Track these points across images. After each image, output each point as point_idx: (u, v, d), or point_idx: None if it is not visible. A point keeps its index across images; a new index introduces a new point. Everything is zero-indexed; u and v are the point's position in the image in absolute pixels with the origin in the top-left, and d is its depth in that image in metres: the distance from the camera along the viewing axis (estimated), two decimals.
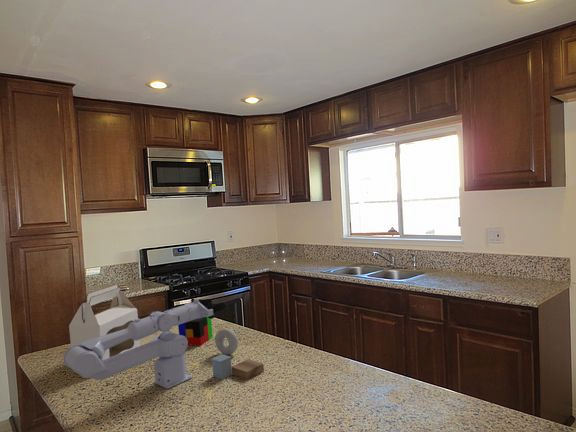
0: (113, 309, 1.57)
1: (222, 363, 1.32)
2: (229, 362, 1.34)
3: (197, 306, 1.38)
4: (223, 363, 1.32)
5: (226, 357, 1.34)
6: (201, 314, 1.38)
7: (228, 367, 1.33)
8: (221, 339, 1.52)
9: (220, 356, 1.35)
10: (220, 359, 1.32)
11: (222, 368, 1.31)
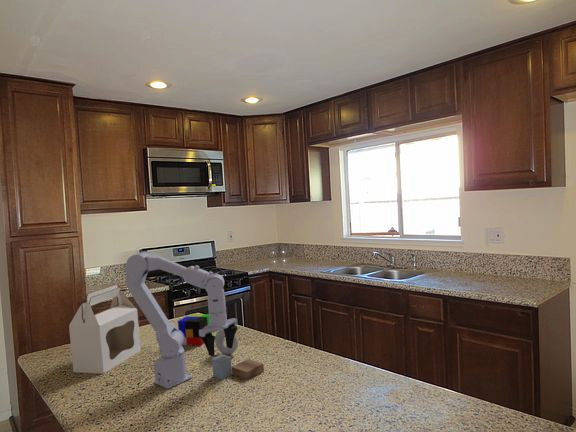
0: (113, 309, 1.57)
1: (222, 363, 1.32)
2: (229, 362, 1.34)
3: (216, 324, 1.31)
4: (223, 363, 1.32)
5: (226, 357, 1.34)
6: (209, 326, 1.32)
7: (228, 367, 1.33)
8: (221, 339, 1.52)
9: (220, 356, 1.35)
10: (220, 359, 1.32)
11: (222, 368, 1.31)
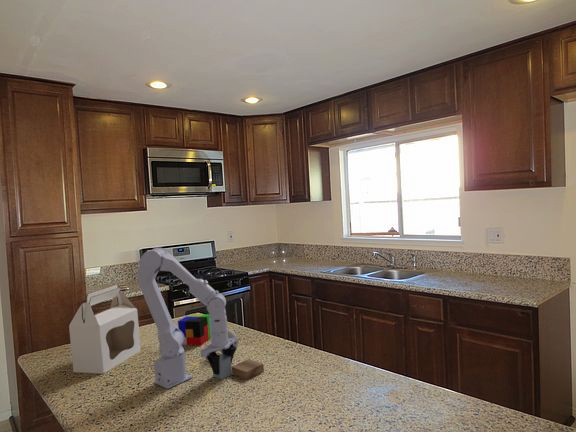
0: (113, 309, 1.57)
1: (222, 363, 1.32)
2: (229, 362, 1.34)
3: (218, 344, 1.31)
4: (223, 363, 1.32)
5: (226, 357, 1.34)
6: (211, 346, 1.32)
7: (228, 367, 1.33)
8: None
9: (220, 356, 1.35)
10: (220, 359, 1.32)
11: (222, 368, 1.31)
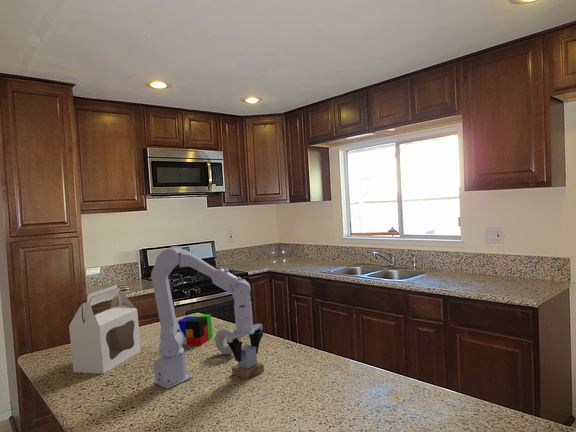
0: (113, 309, 1.57)
1: (248, 353, 1.32)
2: (254, 352, 1.34)
3: (243, 330, 1.31)
4: (249, 353, 1.32)
5: (251, 347, 1.34)
6: (236, 332, 1.33)
7: (253, 357, 1.33)
8: (221, 339, 1.52)
9: (245, 346, 1.35)
10: (245, 349, 1.33)
11: (247, 357, 1.31)
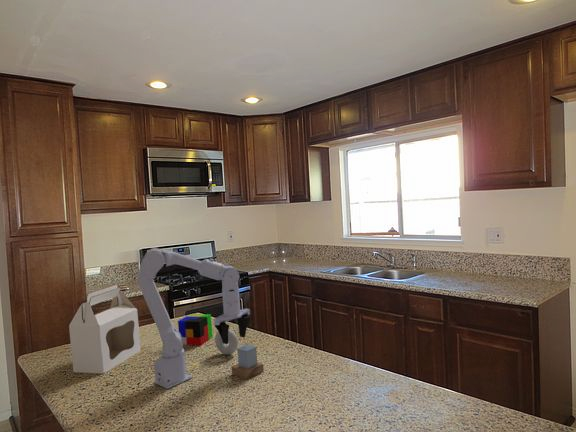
0: (113, 309, 1.57)
1: (249, 353, 1.32)
2: (255, 352, 1.34)
3: (230, 313, 1.36)
4: (249, 353, 1.32)
5: (252, 347, 1.34)
6: (223, 315, 1.37)
7: (254, 357, 1.34)
8: (221, 339, 1.52)
9: (245, 346, 1.35)
10: (246, 349, 1.33)
11: (248, 357, 1.32)
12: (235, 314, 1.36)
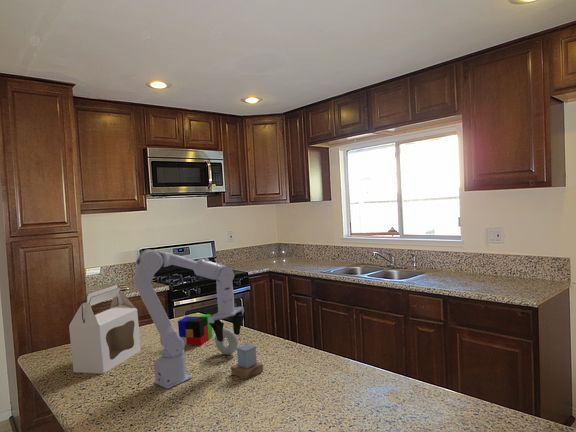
0: (113, 309, 1.57)
1: (248, 352, 1.32)
2: (254, 351, 1.34)
3: (224, 312, 1.38)
4: (248, 352, 1.32)
5: (251, 346, 1.34)
6: (218, 313, 1.40)
7: (253, 356, 1.34)
8: None
9: (245, 346, 1.36)
10: (245, 348, 1.33)
11: (247, 357, 1.32)
12: (229, 312, 1.39)
